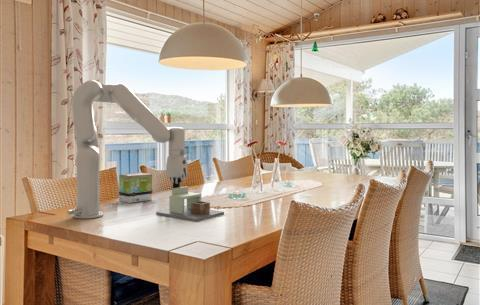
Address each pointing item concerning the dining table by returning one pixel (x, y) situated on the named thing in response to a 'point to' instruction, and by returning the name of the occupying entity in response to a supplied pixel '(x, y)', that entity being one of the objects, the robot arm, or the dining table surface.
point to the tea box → (135, 187)
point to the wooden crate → (200, 208)
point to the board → (188, 215)
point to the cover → (182, 199)
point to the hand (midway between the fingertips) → (176, 191)
